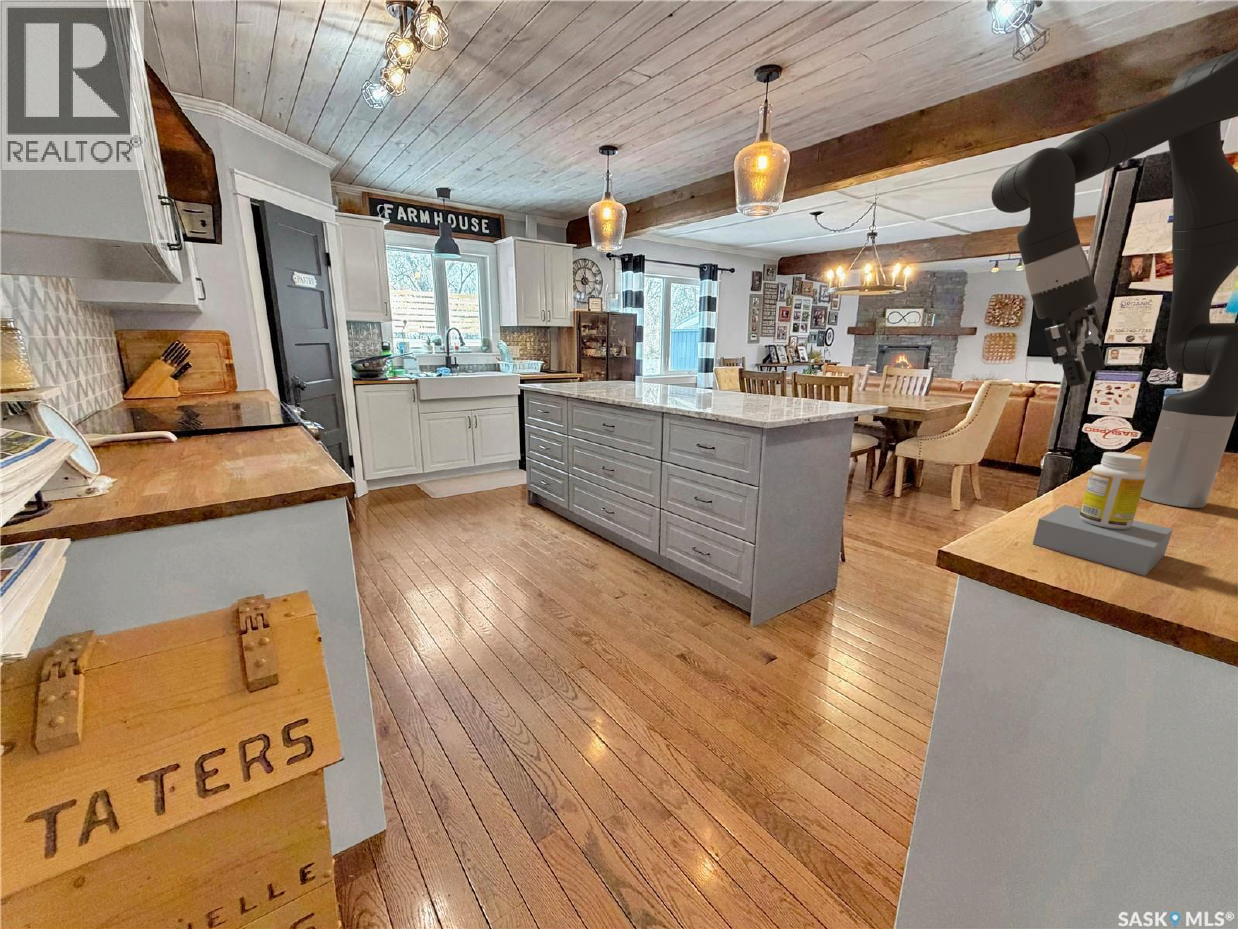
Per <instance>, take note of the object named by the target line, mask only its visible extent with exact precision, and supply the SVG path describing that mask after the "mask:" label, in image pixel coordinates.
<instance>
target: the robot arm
mask: <svg viewBox="0 0 1238 929" xmlns="http://www.w3.org/2000/svg"><path fill="white" fill-rule="evenodd" d="M1235 118H1238V48H1237V49H1234V50H1231V51H1229V52H1226V53H1223V54H1220V55H1217V57H1213V58H1210V59H1208V60H1206V61H1202V62H1201V63H1197V64H1195V65H1193V66H1191V67H1190V68H1188V69H1185V71H1183V72H1182V73H1181V74H1179V75H1178V77H1177V78H1176V79H1175V80H1174V82H1173V83H1172V85H1171V87H1170V89H1169V92H1168V94H1167V95H1165V96H1163V97H1160V98H1158V99H1155V100H1152V101H1149V102H1148V103H1144V104H1142V105H1139V106H1137V107H1134V108H1131V109H1129V110H1127V111H1125V112H1122V113H1120V114H1119V113H1118V114H1117V115H1115V116H1113V117H1110V118H1108V119H1107V120H1103V121H1102V122H1100V123H1097V124H1095V125H1093V126H1092V127H1089V128H1087V129H1085V130H1083V131H1081V132H1079V133H1077V134H1075V135H1074V136H1072V137H1070V138H1068V139H1067V140H1066V141H1064V142H1063V143H1061V144H1060V145H1058V146H1056V147H1045V148H1043V149H1041V150H1038V151H1036V152H1034V153H1033V154H1031V155H1030V156H1027V158H1025V159H1023V160H1021V161H1020V162H1019V163H1017V164H1015V165H1014V166H1012V167H1011V168H1009V169H1008V170H1006V171H1005V172H1003V174H1001V175H1000V176H999V177H998V179H997V180H996V182H995V183H994V185H993V187H992V190H991V201H992V204H993V206H994V207H995V208H996V209H997V210H999V211H1000V212H1003V213H1007V214H1014V213H1015V214H1016V213H1020V212H1023V211H1025V210H1027V209H1029V221H1028V222H1027V224H1025V225H1024V227H1022V228H1021V229H1020V230H1019V231H1018V233H1017V235H1016V236H1017V238H1016V239H1017V245H1018V249H1019V252H1020V256H1021V260H1022V262H1023V265H1024V272H1025V280H1026V283H1027V285H1028V289H1029V293H1030V296H1031V300H1032V303H1033V307H1034V310H1035V313H1036V316H1037V319H1040V320H1043V319H1048V318H1051V319H1052V324H1053V326H1049V327H1045V329H1044V334H1045V337H1046V341H1047V346H1048V349H1049V353H1050V356H1051V360H1052V363H1053V364H1054V365H1059V366H1062V367H1061V368H1062V370H1063V373H1064V376H1065V380H1066V384H1067V386H1069V387H1075V386H1081V385H1085V383H1086V382H1088V380H1087V376H1086V372H1088V373H1090V372H1097V371H1101V370H1103V369H1104V368H1105V367H1106V364H1105V361H1104V358H1103V354H1102V350H1101V347H1100V346H1101V345H1102V340H1104V339H1105V338H1104V337H1105V335H1104V333H1103V330H1102V326H1101V324H1100V323H1101V322H1100V319H1099V317H1098V313H1097V310H1096V307H1095V306H1094V305H1092V304H1094V303H1096V302H1098V300H1099V294H1098V291H1097V287H1096V284H1095V281H1094V277H1093V273H1092V270H1091V267H1090V263H1089V259H1088V257H1087V255H1086V252H1085V250H1084V249H1083V247H1082V244H1081V240H1080V236H1079V233H1078V229H1077V226H1076V223H1075V221H1074V214H1075V204H1076V203H1075V202H1076V200H1075V199H1076V184H1078V183H1081V182H1084V181H1086V180H1089V179H1092V178H1094V177H1095V176H1098V175H1100V174H1102V173H1104V172H1106V171H1108V170H1110V169H1112V168H1114V167H1116V166H1118V165H1120V164H1122V163H1124V162H1126V161H1128V160H1131V159H1133V158H1134V157H1136V156H1138V155H1141V154H1142V153H1145V152H1146V151H1149V150H1151V149H1153V148H1155V147H1157V146H1159V145H1162V144H1163V143H1166V142H1167V143H1168V146H1169V147H1168V148H1169V150H1168V151H1169V156H1170V163H1171V165H1170V166H1171V172H1172V175H1171V176H1172V200H1173V201H1172V203H1173V204H1172V205H1173V206H1172V208H1173V210H1172V213H1173V214H1172V232H1171V234H1172V235H1171V236H1172V237H1171V238H1172V239H1171V240H1172V241H1171V242H1172V243H1171V251H1172V253H1171V254H1172V291H1171V292H1172V294H1171V304H1170V305H1171V306H1170V314H1169V320H1168V329H1167V336H1166V342H1165V343H1166V344H1165V359H1166V360H1165V361H1166V363H1167V367H1168V368H1169V369H1170V370H1171V371H1173V372H1175V373H1177V374H1184V375H1195V376H1197V375H1198V376H1208V378H1207V380H1206V381H1205V383H1204V384H1203V385H1202V386H1200V387H1197V388H1195V389H1192V390H1187V391H1184V392H1183V391H1182V392H1177V393H1176V392H1175V393H1172V394H1169V395H1167V396H1166V397H1165V399H1164V401H1163V405H1162V407H1161V411H1160V415H1159V419H1158V421H1157V425H1156V428H1155V432H1154V434H1153V438H1152V441H1151V445H1150V448H1149V451H1148V454H1147V457H1146V461H1145V464H1144V467H1143V472H1144V473H1145V474H1146V479H1145V482H1144V485H1143V489H1142V492H1141V496H1140V499H1145V500H1148V501H1151V502H1154V503H1158V504H1163V505H1169V506H1174V507H1182V508H1183V507H1184V508H1191V509H1193V508H1194V509H1201V508H1205V507H1206V504H1207V502H1208V500H1209V499H1208V498H1209V497H1210V494H1211V491H1212V487H1213V485H1214V482H1215V478H1216V475H1217V473H1218V471H1219V467H1220V464H1221V461H1222V459H1223V455H1224V454H1225V450H1226V447H1227V444H1228V441H1229V438H1230V435H1231V431H1232V428H1233V426H1234V422H1235V420H1236V418H1237V417H1236V416H1237V414H1238V322H1211V320H1210V315H1211V314H1210V313H1211V307H1212V303H1213V299H1214V297H1215V294H1216V293H1217V291H1218V289H1219V288H1220V287H1221V285H1222V284H1223V283H1224V282H1225V280H1226V279H1227V278H1228V277H1229V276H1230V275H1231V274H1232V273H1233V272H1234V271H1235V269H1236V268H1237V267H1238V170H1237V169H1236V168H1234V166H1233V165H1232V164H1231V163H1230V162H1229V160H1228V158H1227V157H1226V154H1225V153H1224V152H1225V151H1224V149H1223V144H1222V135H1221V134H1222V133H1221V131H1222V130H1221V127H1222V126H1221V122H1223V121H1227V120H1230V119H1235ZM1090 305H1091V306H1090ZM1081 356H1082V357H1081ZM1081 359H1083V362H1082V360H1081ZM1083 363H1084V364H1083ZM1083 365H1084V366H1085V370H1086V371H1085V370H1084V366H1083Z"/></svg>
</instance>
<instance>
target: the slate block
mask: <svg viewBox="0 0 1238 929" xmlns="http://www.w3.org/2000/svg"><path fill="white" fill-rule="evenodd" d="M1080 511H1081V508H1080V507H1076V506H1073V505H1072V506H1071V505H1067V504H1065V505H1062V506H1060V507H1059V508H1057V509H1054V510H1053V511H1051V512H1049V513H1047V514H1045V515H1044V516H1042V517H1040V518H1039V519H1038V522H1037V526H1036V528H1035V534H1034V538H1033V541H1032V545H1034V544H1035V546H1039V547H1042V548H1045V549H1048V550H1049V549H1050V550H1052V551H1056V552H1060V553H1063V554H1066V555H1071V556H1073V557H1076V558H1081V559H1084V560H1088V561H1091V562H1095V563H1098V564H1101V565H1104V566H1105V565H1106V566H1108V567H1112V568H1116V569H1118V570H1123V571H1126V572H1130V573H1134V574H1137V575H1140V576H1142V577H1143V576H1144V577H1146V575H1147V574H1149V572H1150V571H1151V570H1152V569H1153V568H1154V567H1155V566H1156V565H1157V564H1158V563H1159V561H1160V560H1161V559H1162V558H1163V557H1164V556H1165V554H1166V552H1167V549H1168V545H1169V543H1170V539H1171V536H1172V533H1173V530H1174V529H1173V528H1169V527H1165V526H1161V525H1156V524H1153V523H1147V522H1144V521H1139V520H1134V519H1133V522H1132V525H1131V527H1129V528H1127V529H1111V528H1105V527H1100V526H1096V525H1093V524H1090V523H1087V522H1085V521H1083V520H1082V519H1081V518H1080Z"/></svg>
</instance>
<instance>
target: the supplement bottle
mask: <svg viewBox="0 0 1238 929" xmlns="http://www.w3.org/2000/svg"><path fill="white" fill-rule="evenodd" d="M1142 463H1143V457H1142V456H1140V455H1136V454H1130V453H1124V452H1118V451H1117V452H1116V451H1113V452H1112V451H1107V452H1103V454H1102V458H1101V460H1100V464H1096V465H1093V466H1092V468H1091V470H1090V474H1089V477H1088V481H1087V485H1086V489H1085V493H1084V496H1083V500H1082V504H1081V511H1080V518H1081V519H1082V520H1083V521H1085V522H1087V523H1090V524H1093V525H1096V526H1100V527H1105V528H1111V529H1127V528H1129V527H1131V525H1132V522H1133V520H1134V519H1135V516H1136V512H1137V509H1138V505H1139V502H1140V499H1141V497H1140V496H1141V492H1142V489H1143V485H1144V482H1145V479H1146V474H1145V473H1144V472H1143V471H1142V470H1140V469H1141V467H1142Z"/></svg>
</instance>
